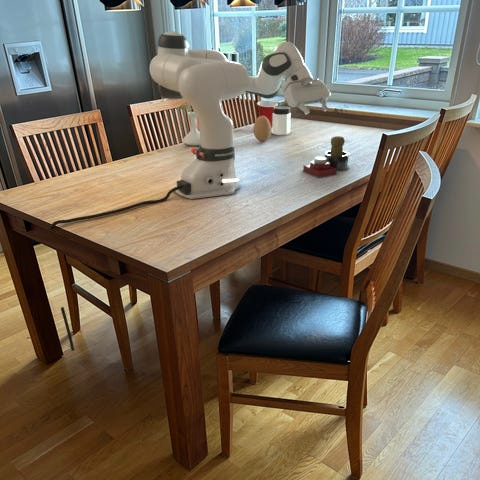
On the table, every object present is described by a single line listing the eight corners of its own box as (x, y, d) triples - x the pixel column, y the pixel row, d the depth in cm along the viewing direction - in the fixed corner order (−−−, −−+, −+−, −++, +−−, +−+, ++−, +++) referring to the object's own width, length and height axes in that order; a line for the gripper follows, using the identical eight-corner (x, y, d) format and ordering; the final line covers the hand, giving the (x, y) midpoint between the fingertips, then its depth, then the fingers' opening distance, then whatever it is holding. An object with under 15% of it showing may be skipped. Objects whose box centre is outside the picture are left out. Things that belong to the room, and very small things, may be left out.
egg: (271, 139, 231) (271, 114, 225) (270, 143, 224) (270, 117, 218) (254, 139, 232) (254, 114, 226) (252, 143, 225) (252, 117, 219)
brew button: (319, 165, 180) (319, 160, 179) (311, 162, 183) (312, 157, 182) (328, 163, 181) (328, 158, 180) (321, 160, 185) (321, 156, 184)
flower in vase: (210, 142, 227) (207, 83, 214) (202, 148, 218) (199, 87, 204) (184, 141, 230) (179, 83, 216) (175, 146, 221) (170, 86, 207)
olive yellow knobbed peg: (342, 168, 186) (346, 138, 180) (327, 167, 187) (329, 138, 181) (343, 164, 191) (346, 135, 185) (327, 163, 192) (330, 134, 186)
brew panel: (319, 177, 179) (320, 166, 177) (303, 171, 186) (303, 160, 184) (336, 174, 182) (337, 163, 180) (319, 168, 189) (320, 157, 187)
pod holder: (333, 172, 184) (335, 157, 181) (319, 166, 191) (320, 152, 188) (351, 168, 188) (353, 154, 185) (336, 163, 195) (338, 149, 192)
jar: (277, 130, 246) (277, 105, 240) (292, 132, 243) (293, 106, 237) (269, 134, 240) (270, 108, 233) (285, 136, 237) (285, 109, 230)
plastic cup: (263, 130, 248) (263, 105, 241) (252, 126, 256) (253, 102, 249) (281, 128, 252) (282, 103, 246) (270, 124, 260) (270, 100, 254)
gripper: (315, 84, 196) (331, 113, 195) (277, 89, 186) (293, 120, 185) (324, 73, 191) (340, 103, 190) (285, 78, 181) (301, 109, 180)
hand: (316, 111), depth 187 cm, fingers open, 8 cm apart
